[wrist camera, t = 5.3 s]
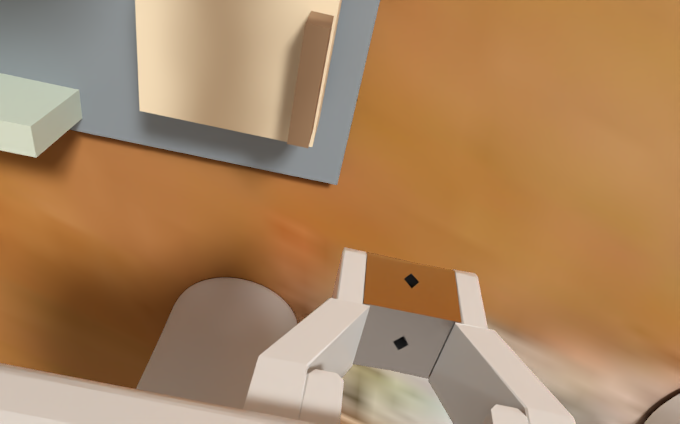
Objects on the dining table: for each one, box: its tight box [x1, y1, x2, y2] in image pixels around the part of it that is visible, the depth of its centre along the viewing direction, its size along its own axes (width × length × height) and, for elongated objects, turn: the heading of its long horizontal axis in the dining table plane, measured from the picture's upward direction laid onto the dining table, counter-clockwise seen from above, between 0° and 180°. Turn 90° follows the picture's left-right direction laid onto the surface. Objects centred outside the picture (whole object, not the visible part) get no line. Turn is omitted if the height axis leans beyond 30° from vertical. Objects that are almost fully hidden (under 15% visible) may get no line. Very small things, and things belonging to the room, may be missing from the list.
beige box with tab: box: [135, 0, 342, 148], centre depth 19 cm, size 7×6×6 cm
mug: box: [136, 277, 297, 409], centre depth 30 cm, size 12×8×11 cm
